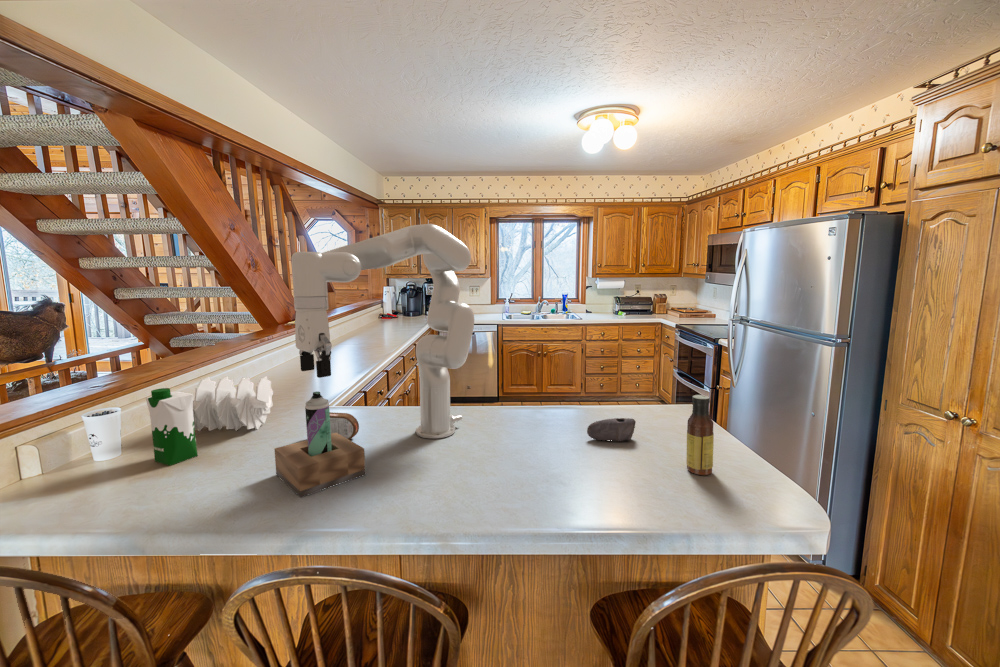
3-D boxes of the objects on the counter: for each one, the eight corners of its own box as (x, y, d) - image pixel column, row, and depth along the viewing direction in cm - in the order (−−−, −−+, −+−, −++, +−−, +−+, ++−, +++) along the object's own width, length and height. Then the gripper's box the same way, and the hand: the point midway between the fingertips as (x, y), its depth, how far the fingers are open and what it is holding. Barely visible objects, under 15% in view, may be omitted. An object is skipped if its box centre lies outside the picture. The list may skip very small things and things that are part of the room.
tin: (360, 438, 135) (358, 412, 133) (355, 442, 131) (354, 415, 130) (313, 436, 136) (312, 411, 135) (308, 440, 133) (306, 414, 132)
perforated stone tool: (587, 443, 131) (588, 421, 130) (585, 436, 136) (586, 415, 135) (638, 444, 130) (639, 422, 129) (634, 437, 135) (634, 416, 134)
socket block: (337, 456, 121) (336, 432, 120) (365, 474, 110) (364, 448, 109) (276, 474, 110) (274, 448, 109) (300, 497, 99) (298, 468, 98)
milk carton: (149, 462, 117) (141, 390, 115) (184, 450, 126) (178, 382, 123) (167, 468, 114) (160, 394, 111) (203, 455, 122) (197, 386, 119)
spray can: (313, 464, 112) (308, 389, 110) (335, 463, 113) (331, 389, 110) (306, 474, 107) (300, 395, 104) (329, 473, 107) (324, 395, 105)
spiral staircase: (201, 437, 146) (278, 431, 149) (166, 432, 130) (253, 425, 132) (208, 384, 152) (282, 379, 154) (175, 372, 135) (258, 367, 137)
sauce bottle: (710, 467, 114) (715, 394, 111) (713, 478, 108) (719, 401, 106) (683, 464, 116) (688, 392, 114) (685, 474, 110) (690, 398, 108)
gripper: (282, 303, 108) (286, 370, 110) (310, 306, 96) (314, 382, 98) (312, 301, 113) (316, 366, 115) (342, 304, 101) (346, 376, 103)
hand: (315, 373), depth 107 cm, fingers open, 9 cm apart
